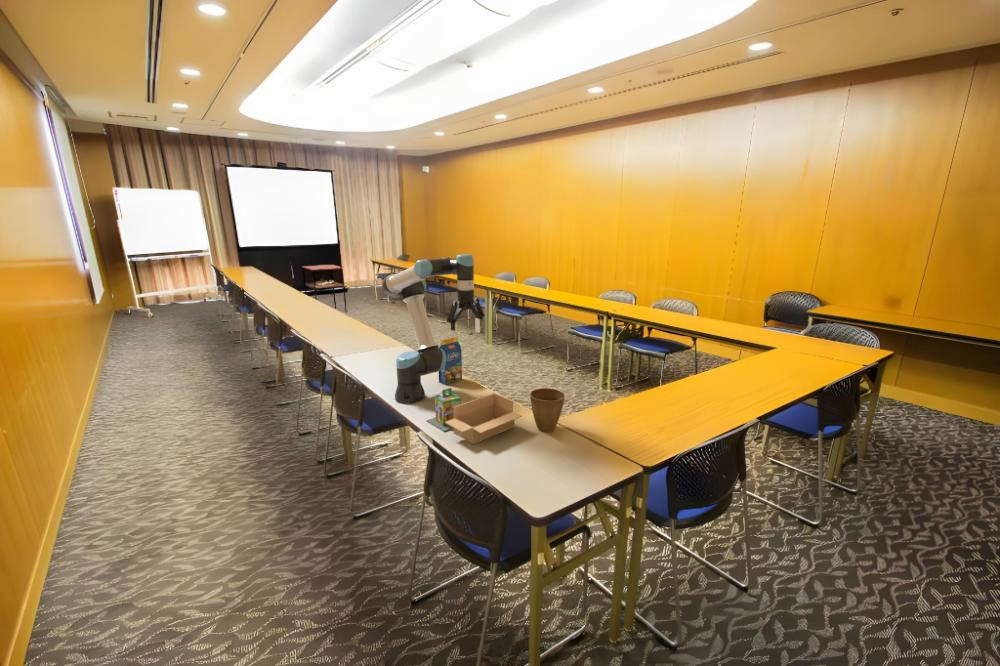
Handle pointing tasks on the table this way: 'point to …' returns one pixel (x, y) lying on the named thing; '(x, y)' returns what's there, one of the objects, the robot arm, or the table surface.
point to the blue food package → (451, 361)
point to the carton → (483, 418)
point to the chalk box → (446, 406)
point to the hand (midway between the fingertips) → (466, 334)
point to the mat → (439, 425)
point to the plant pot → (546, 407)
